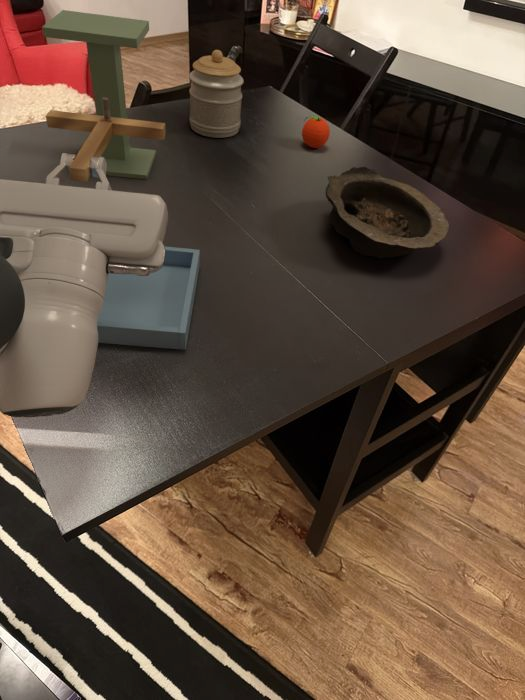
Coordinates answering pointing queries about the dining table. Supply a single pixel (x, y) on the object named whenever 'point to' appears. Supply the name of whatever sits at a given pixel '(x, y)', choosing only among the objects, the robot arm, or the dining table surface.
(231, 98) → the jar
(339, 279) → the dining table surface
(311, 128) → the clementine
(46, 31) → the green pedestal stand
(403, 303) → the dining table surface
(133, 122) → the wooden t-shaped piece
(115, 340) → the tray
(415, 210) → the stone bowl
